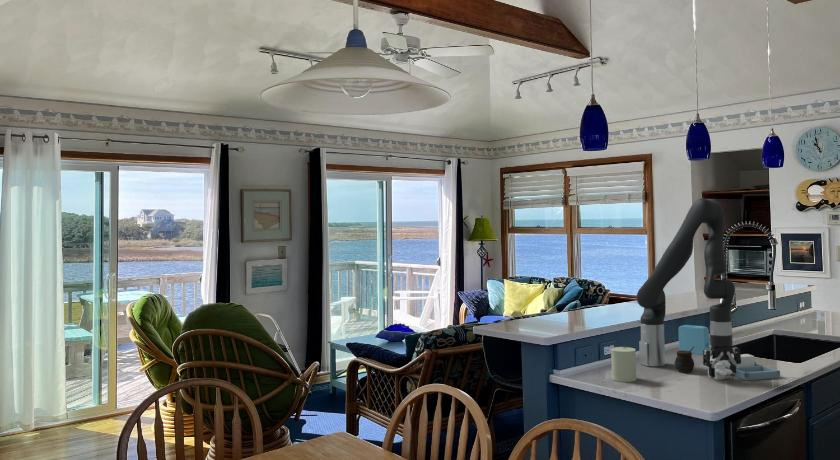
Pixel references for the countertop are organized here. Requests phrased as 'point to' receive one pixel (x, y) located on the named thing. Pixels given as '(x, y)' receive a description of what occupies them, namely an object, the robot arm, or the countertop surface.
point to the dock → (752, 369)
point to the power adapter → (721, 371)
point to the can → (623, 364)
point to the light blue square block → (693, 338)
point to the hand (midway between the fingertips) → (722, 376)
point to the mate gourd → (684, 361)
